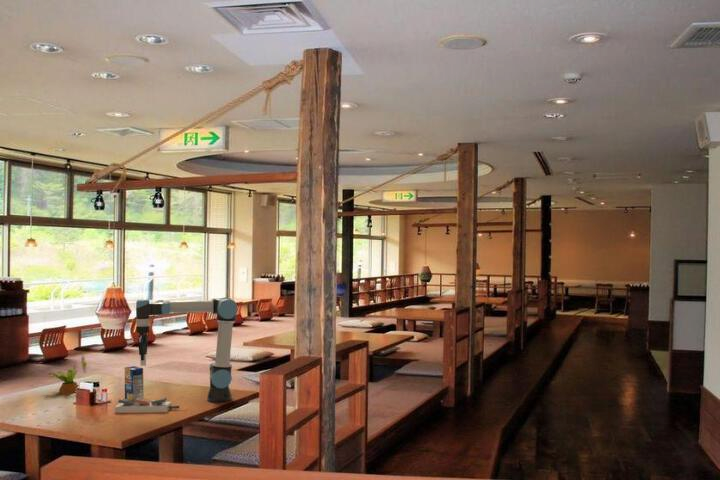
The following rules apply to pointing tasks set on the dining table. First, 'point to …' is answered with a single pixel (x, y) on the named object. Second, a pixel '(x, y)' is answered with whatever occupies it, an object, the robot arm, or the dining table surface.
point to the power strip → (144, 407)
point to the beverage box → (133, 383)
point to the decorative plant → (69, 379)
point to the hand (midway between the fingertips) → (143, 365)
